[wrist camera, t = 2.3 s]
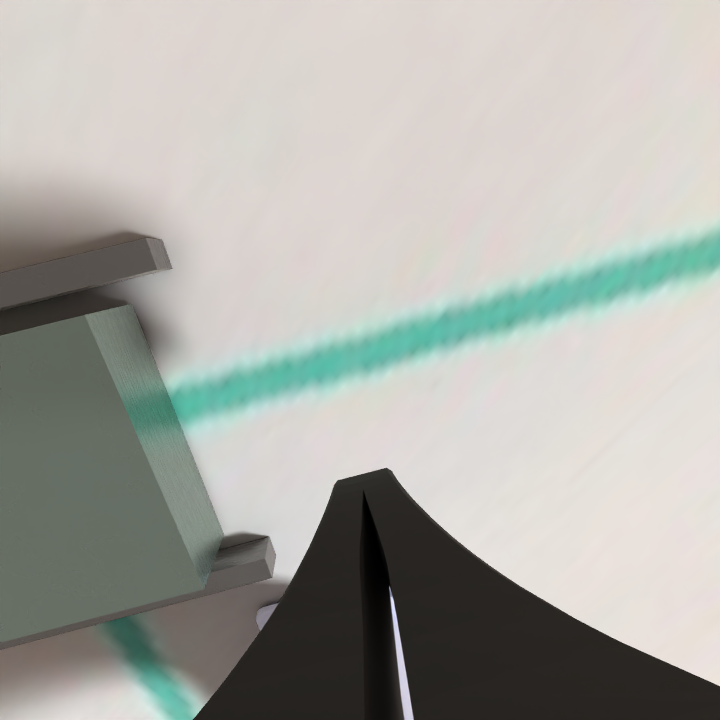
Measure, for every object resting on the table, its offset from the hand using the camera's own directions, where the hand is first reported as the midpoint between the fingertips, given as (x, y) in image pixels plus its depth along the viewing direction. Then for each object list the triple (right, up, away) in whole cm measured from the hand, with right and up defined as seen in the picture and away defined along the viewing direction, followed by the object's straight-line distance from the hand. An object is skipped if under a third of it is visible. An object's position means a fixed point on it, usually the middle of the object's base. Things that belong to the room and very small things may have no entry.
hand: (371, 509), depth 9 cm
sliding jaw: (-13, -1, +9) cm, 16 cm away
